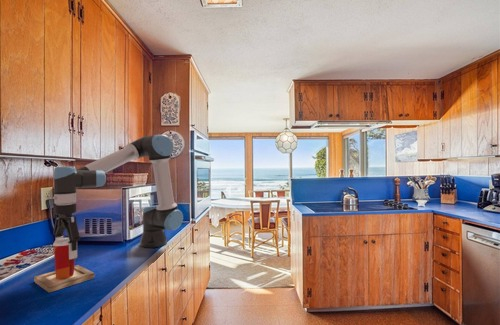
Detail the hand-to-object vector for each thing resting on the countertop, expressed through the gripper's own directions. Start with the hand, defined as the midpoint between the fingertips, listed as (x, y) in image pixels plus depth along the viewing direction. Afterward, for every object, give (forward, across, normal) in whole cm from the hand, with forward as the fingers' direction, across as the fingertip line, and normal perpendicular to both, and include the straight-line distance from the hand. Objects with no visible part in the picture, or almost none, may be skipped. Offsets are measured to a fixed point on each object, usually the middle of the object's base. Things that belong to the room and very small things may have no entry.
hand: (66, 255), depth 111 cm
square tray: (+10, 0, -1) cm, 10 cm away
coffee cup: (+9, 0, -1) cm, 9 cm away
